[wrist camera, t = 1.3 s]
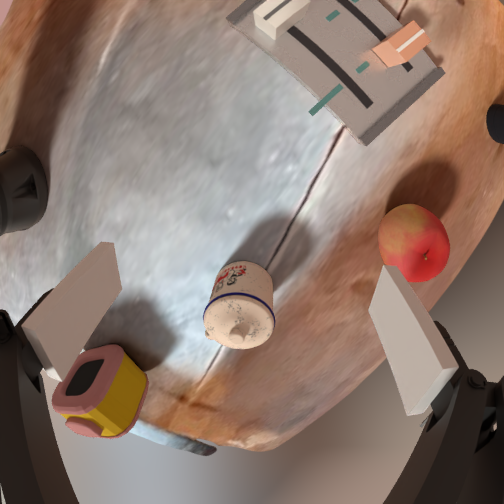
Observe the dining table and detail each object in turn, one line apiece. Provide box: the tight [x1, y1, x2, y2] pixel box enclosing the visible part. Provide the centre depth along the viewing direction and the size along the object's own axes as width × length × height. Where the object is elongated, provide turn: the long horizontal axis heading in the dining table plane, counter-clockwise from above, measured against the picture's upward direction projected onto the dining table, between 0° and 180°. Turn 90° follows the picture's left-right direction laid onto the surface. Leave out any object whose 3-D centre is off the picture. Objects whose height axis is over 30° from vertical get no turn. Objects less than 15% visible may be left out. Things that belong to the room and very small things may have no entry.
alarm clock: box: [52, 345, 149, 439], centre depth 46 cm, size 18×11×19 cm, turn 115°
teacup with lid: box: [203, 261, 275, 349], centre depth 38 cm, size 12×9×12 cm
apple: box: [378, 204, 450, 282], centre depth 33 cm, size 10×10×10 cm
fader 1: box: [253, 0, 311, 40], centre depth 21 cm, size 3×5×5 cm, turn 137°
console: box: [226, 0, 445, 146], centre depth 25 cm, size 22×20×3 cm
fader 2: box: [372, 20, 431, 67], centre depth 22 cm, size 3×5×5 cm, turn 137°
